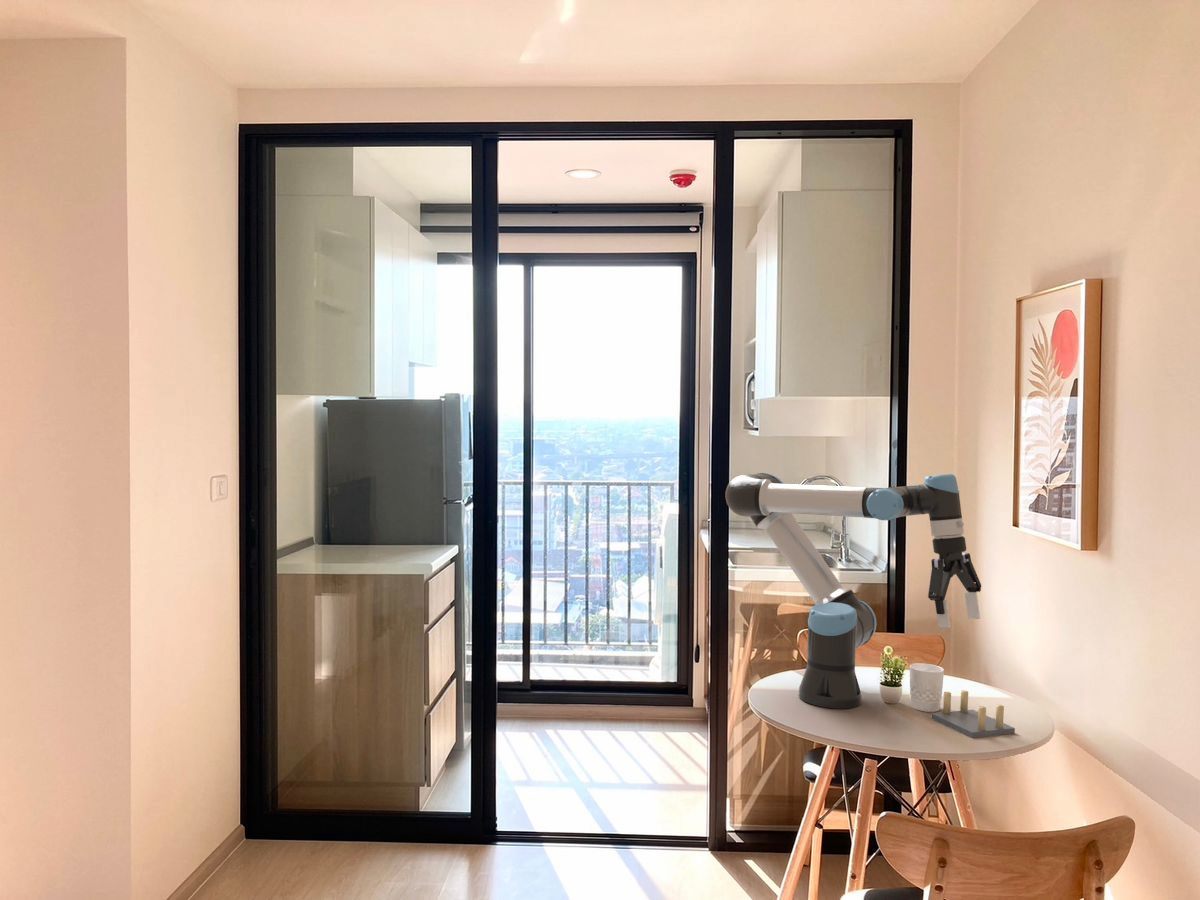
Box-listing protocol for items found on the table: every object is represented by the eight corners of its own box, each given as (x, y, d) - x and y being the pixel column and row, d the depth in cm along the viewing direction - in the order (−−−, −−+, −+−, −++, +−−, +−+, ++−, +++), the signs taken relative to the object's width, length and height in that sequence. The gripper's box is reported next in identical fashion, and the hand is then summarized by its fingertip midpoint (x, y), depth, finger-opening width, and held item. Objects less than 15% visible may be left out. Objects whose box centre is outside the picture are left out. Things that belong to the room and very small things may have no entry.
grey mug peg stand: (971, 737, 184) (972, 710, 184) (931, 718, 197) (932, 692, 197) (1014, 733, 188) (1015, 706, 188) (972, 714, 200) (973, 689, 200)
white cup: (947, 713, 201) (949, 672, 200) (914, 712, 201) (916, 671, 201) (935, 703, 208) (936, 663, 208) (903, 702, 209) (905, 662, 208)
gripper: (934, 541, 195) (946, 632, 194) (988, 531, 210) (1000, 615, 209) (905, 542, 201) (917, 630, 199) (960, 532, 216) (971, 614, 215)
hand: (959, 623), depth 204 cm, fingers open, 13 cm apart
